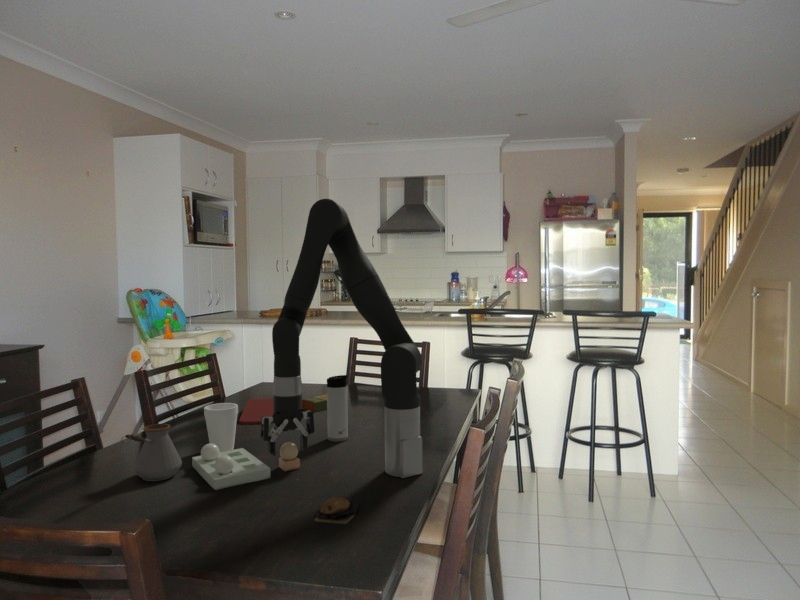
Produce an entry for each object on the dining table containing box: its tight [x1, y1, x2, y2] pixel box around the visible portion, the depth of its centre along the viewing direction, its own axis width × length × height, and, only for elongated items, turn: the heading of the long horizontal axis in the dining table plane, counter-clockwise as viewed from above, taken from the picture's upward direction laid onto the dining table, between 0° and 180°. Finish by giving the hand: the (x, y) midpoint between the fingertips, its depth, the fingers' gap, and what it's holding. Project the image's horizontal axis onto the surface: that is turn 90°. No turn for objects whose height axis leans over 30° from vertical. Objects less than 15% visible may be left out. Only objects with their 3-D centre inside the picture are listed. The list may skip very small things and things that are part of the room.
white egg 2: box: [214, 455, 234, 475], centre depth 146 cm, size 5×5×5 cm
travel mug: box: [326, 374, 349, 443], centre depth 182 cm, size 6×7×20 cm
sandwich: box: [314, 496, 360, 525], centre depth 127 cm, size 11×8×4 cm
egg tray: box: [191, 447, 271, 491], centre depth 153 cm, size 21×14×2 cm, turn 34°
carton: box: [302, 393, 327, 413], centre depth 226 cm, size 8×16×4 cm, turn 137°
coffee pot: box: [120, 423, 183, 482], centre depth 146 cm, size 21×12×15 cm, turn 177°
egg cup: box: [278, 456, 301, 472], centre depth 156 cm, size 4×4×2 cm
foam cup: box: [203, 402, 239, 452], centre depth 172 cm, size 10×9×13 cm
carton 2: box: [238, 397, 275, 425], centre depth 214 cm, size 12×5×25 cm
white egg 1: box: [200, 442, 220, 461], centre depth 157 cm, size 5×5×5 cm
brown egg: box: [279, 441, 299, 461], centre depth 156 cm, size 5×5×5 cm
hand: (288, 452), depth 156 cm, fingers open, 8 cm apart
